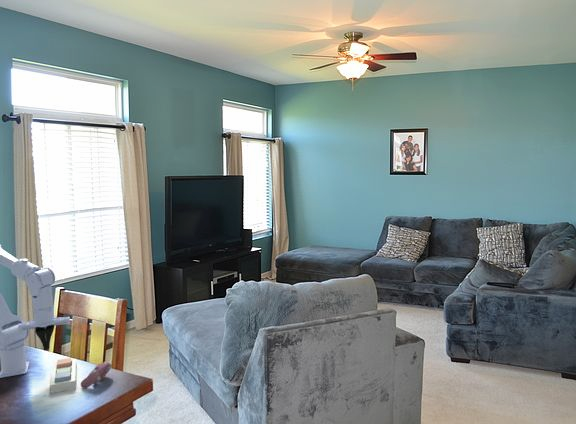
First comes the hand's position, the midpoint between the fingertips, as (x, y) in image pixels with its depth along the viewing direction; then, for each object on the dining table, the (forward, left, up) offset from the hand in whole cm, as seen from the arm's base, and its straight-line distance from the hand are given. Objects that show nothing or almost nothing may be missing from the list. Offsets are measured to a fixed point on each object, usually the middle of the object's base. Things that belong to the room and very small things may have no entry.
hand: (46, 348), depth 157 cm
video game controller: (+11, +14, -10) cm, 20 cm away
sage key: (+4, +5, -9) cm, 10 cm away
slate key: (+9, +4, -8) cm, 13 cm away
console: (+4, +5, -9) cm, 11 cm away
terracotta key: (-2, +5, -8) cm, 9 cm away
